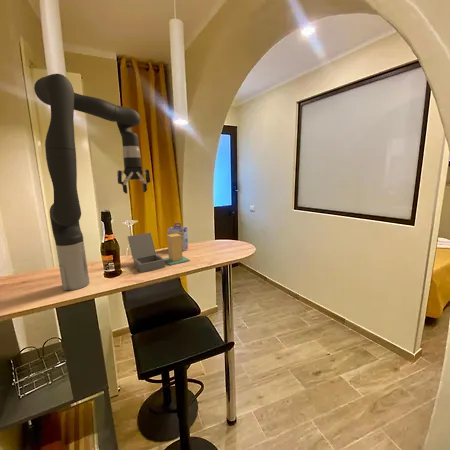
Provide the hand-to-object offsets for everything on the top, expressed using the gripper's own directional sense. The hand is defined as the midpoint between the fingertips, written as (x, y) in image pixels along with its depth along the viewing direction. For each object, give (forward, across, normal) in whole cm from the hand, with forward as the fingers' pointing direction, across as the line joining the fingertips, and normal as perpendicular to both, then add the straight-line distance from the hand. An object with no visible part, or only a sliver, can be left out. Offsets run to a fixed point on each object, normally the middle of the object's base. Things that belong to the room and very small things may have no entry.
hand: (135, 192), depth 127 cm
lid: (+25, 0, -2) cm, 25 cm away
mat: (+33, +13, -11) cm, 37 cm away
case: (+33, 0, -11) cm, 35 cm away
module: (+32, +13, -11) cm, 37 cm away
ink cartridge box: (+33, +22, +6) cm, 40 cm away
